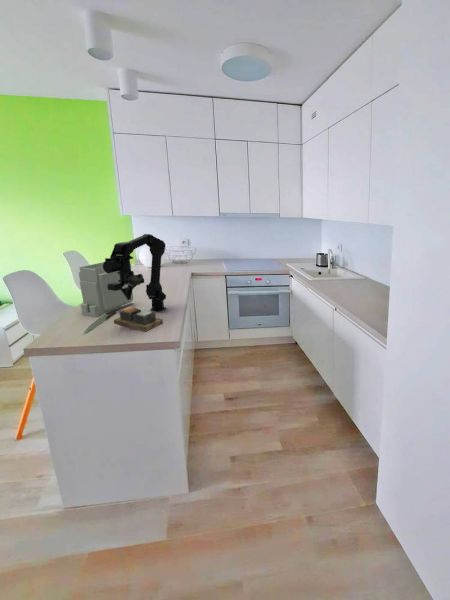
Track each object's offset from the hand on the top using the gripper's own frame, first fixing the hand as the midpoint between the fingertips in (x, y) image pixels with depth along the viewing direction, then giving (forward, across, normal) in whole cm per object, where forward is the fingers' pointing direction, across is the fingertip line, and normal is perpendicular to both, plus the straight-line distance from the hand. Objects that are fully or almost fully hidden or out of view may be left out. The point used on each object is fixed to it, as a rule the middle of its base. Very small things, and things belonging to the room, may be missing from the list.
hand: (128, 299), depth 144 cm
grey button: (+9, 0, -10) cm, 14 cm away
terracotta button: (+9, 0, 0) cm, 9 cm away
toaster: (+12, +10, +30) cm, 34 cm away
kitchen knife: (+12, -9, +13) cm, 20 cm away
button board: (+12, 0, -5) cm, 13 cm away
